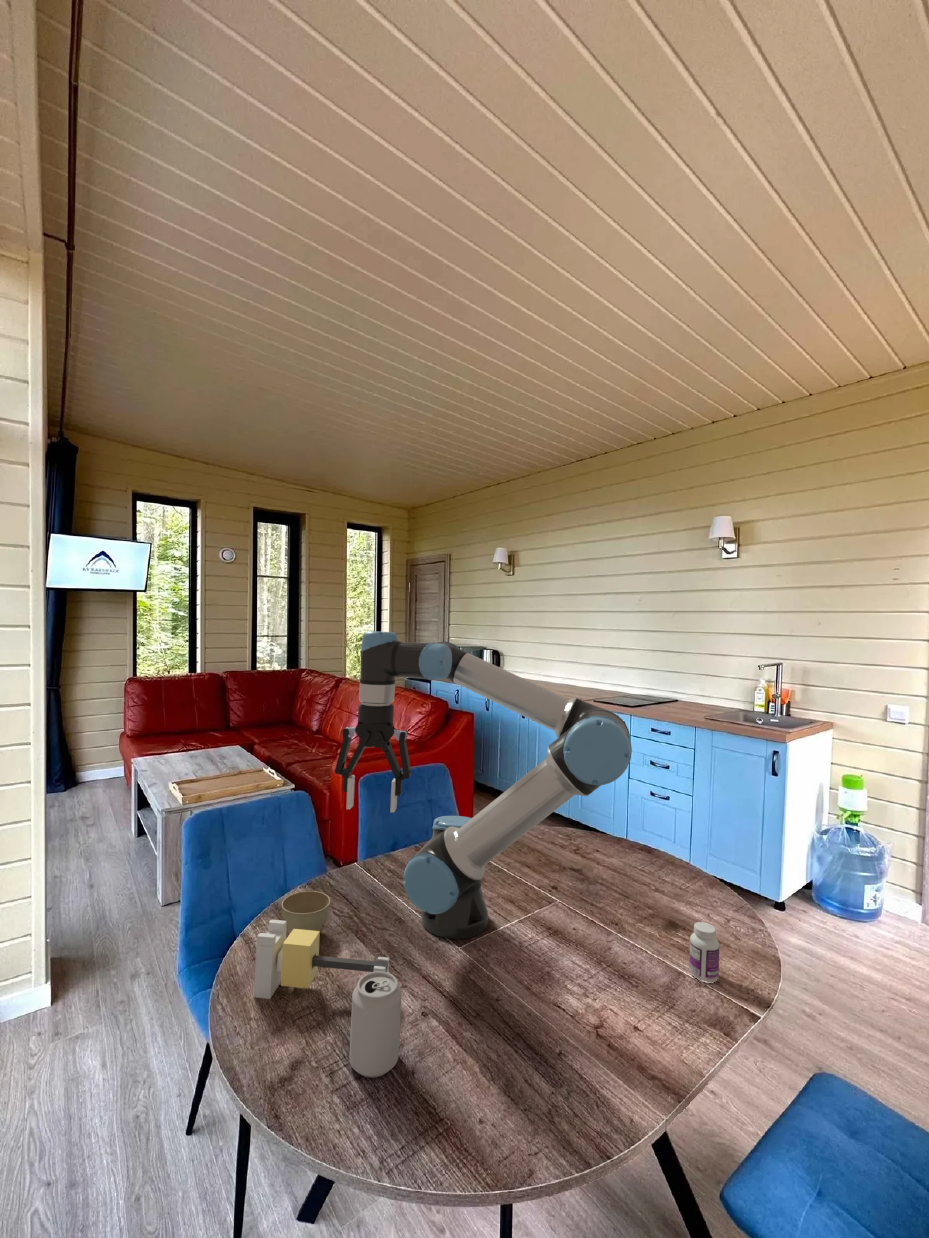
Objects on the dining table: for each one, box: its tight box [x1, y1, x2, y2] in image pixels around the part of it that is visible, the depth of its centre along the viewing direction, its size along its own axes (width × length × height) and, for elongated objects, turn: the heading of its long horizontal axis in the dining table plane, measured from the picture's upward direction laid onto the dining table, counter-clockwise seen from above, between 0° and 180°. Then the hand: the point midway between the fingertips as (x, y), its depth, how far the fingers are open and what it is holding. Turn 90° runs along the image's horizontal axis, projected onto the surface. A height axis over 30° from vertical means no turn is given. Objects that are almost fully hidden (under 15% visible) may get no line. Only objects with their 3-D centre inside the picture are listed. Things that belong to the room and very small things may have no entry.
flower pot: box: [281, 890, 331, 934], centre depth 116 cm, size 10×10×7 cm
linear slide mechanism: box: [253, 919, 390, 1000], centre depth 98 cm, size 23×6×11 cm, turn 85°
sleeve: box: [280, 929, 321, 989], centre depth 99 cm, size 5×5×7 cm
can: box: [348, 971, 403, 1078], centre depth 83 cm, size 8×8×12 cm
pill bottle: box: [688, 921, 720, 982], centre depth 108 cm, size 5×5×10 cm
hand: (371, 808), depth 117 cm, fingers open, 9 cm apart
